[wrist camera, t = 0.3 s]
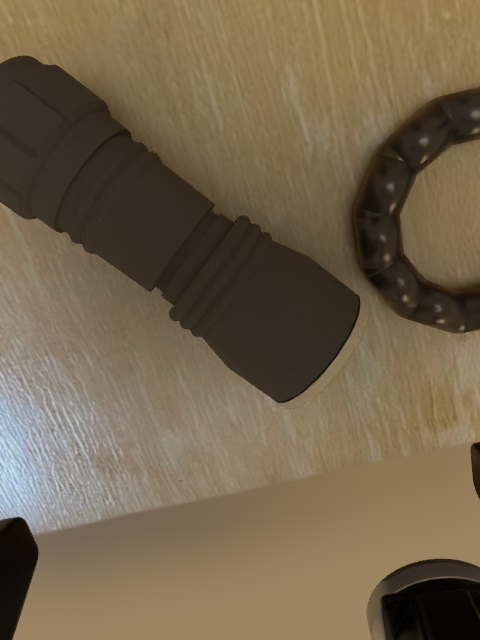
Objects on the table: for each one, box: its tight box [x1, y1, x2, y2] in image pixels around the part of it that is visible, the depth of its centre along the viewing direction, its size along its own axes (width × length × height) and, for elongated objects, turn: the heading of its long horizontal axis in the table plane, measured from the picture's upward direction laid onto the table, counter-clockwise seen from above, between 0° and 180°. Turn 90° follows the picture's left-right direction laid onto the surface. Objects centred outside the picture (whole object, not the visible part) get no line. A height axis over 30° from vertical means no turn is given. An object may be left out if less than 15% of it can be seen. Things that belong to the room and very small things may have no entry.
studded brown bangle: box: [353, 87, 480, 334], centre depth 18 cm, size 10×10×2 cm
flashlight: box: [0, 56, 369, 409], centre depth 17 cm, size 15×5×5 cm, turn 53°
